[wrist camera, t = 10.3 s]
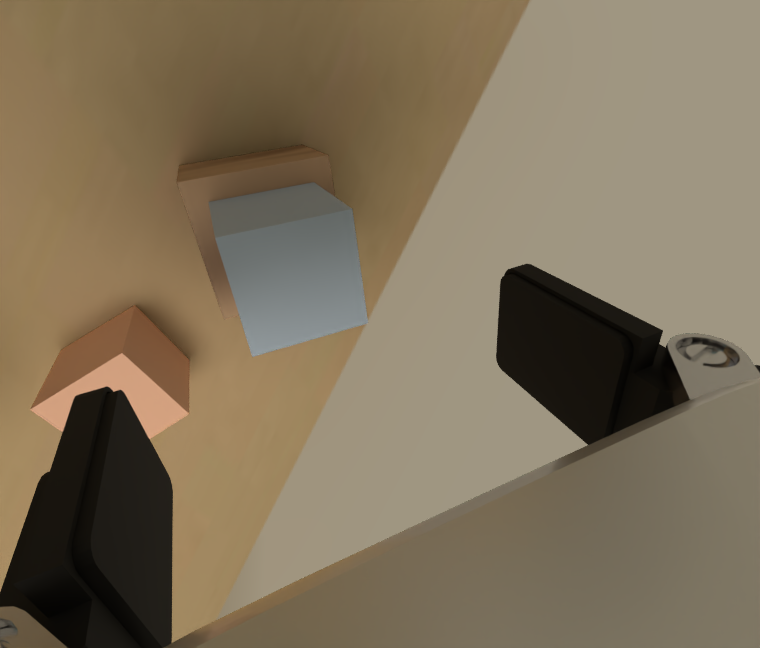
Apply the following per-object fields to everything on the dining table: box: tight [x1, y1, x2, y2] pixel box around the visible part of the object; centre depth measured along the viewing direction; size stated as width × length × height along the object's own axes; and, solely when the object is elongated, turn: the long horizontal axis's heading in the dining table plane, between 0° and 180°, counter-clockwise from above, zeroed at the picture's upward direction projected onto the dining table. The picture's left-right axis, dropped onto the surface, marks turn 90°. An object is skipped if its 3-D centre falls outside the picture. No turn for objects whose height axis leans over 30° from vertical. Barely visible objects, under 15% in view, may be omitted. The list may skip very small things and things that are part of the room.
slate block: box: [209, 182, 368, 357], centre depth 19 cm, size 5×5×6 cm
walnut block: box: [177, 145, 335, 319], centre depth 24 cm, size 7×7×6 cm
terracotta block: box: [30, 305, 189, 439], centre depth 25 cm, size 5×5×6 cm
